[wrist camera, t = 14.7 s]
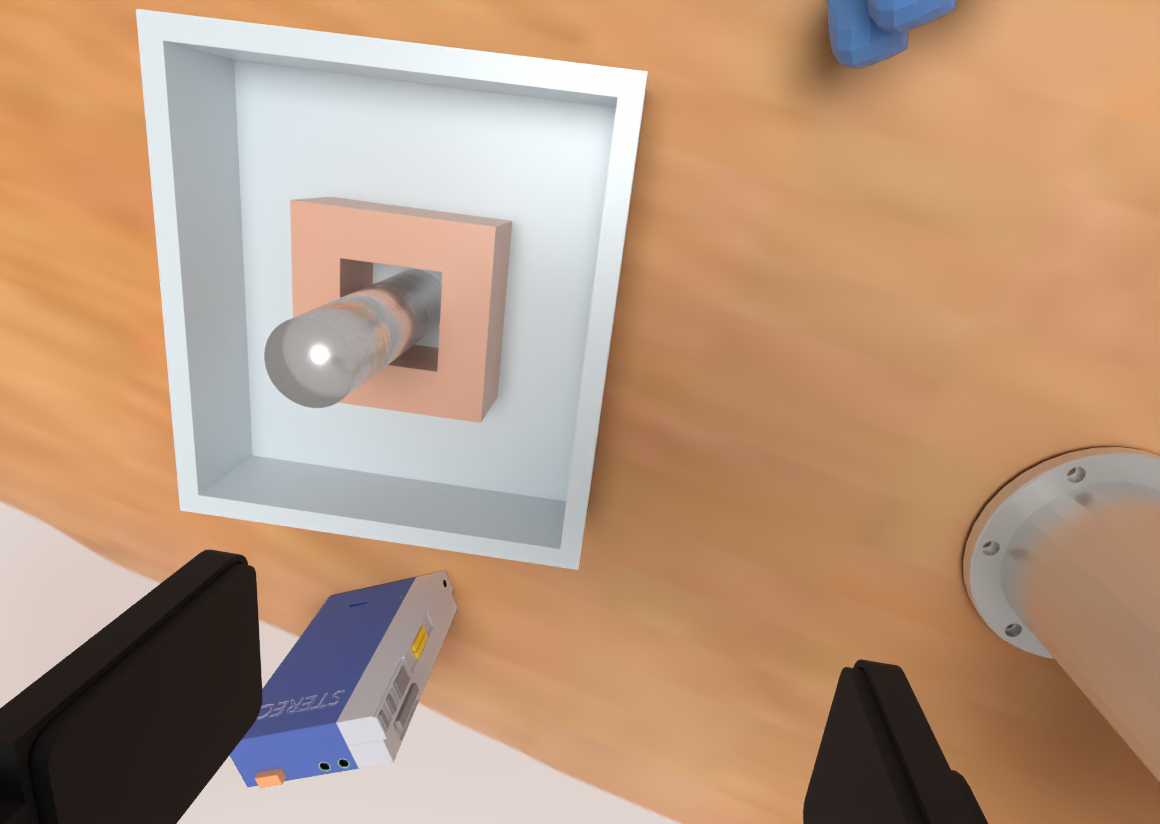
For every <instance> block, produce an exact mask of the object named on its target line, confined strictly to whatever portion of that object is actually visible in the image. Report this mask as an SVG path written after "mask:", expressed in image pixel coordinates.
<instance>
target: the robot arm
mask: <svg viewBox="0 0 1160 824" xmlns="http://www.w3.org/2000/svg"><path fill="white" fill-rule="evenodd" d="M963 574H964V583H965V586H966V590H967V593H968V596H969V599H970V600H971V602H972V604H973V606H974V607H975V609H976V611H977V612H978V614H979V615H980V616H981V618H982V619H983V620H984V621H985V622H986V624H987V625H988V626H989V628H990V629H991V630H992V631H993V632H995V633H996V634H997V635H998V636H999V637H1000V638H1001V639H1003V640H1004V641H1006V642H1007V643H1009V644H1011V645H1013V646H1015V647H1017V648H1018V649H1020V650H1022V651H1025V652H1028V653H1031V654H1034V655H1037V656H1040V657H1044V658H1051V659H1055V660H1056V661H1057V663H1058V664H1059V665H1060V666H1061V667H1062V669H1063V670H1064V671H1065V672H1066V673H1067V674H1068V676H1069V677H1070V678H1071V679H1072V680H1073V681H1074V683H1075V684H1076V685H1077V686H1078V687H1079V688H1080V690H1081V691H1082V692H1083V693H1084V694H1085V696H1086V697H1087V698H1088V699H1089V700H1090V701H1091V703H1092V704H1093V705H1094V706H1095V707H1096V708H1097V710H1098V711H1099V712H1100V713H1101V714H1102V715H1103V717H1104V718H1105V719H1106V720H1107V721H1108V722H1109V724H1110V725H1111V726H1112V727H1113V728H1114V730H1115V731H1116V732H1117V733H1118V734H1119V735H1120V737H1121V738H1122V739H1123V740H1124V741H1125V742H1126V744H1127V745H1128V746H1129V747H1130V748H1131V749H1132V751H1133V752H1134V753H1135V754H1136V755H1137V756H1138V758H1139V759H1140V760H1141V761H1142V762H1143V764H1144V765H1145V766H1146V767H1147V768H1148V769H1149V771H1150V772H1151V773H1152V774H1153V775H1154V776H1155V778H1156V779H1157V780H1158V781H1159V782H1160V456H1159V455H1156V454H1153V453H1150V452H1147V451H1144V450H1138V449H1131V448H1124V447H1101V448H1090V449H1085V450H1080V451H1075V452H1069V453H1067V454H1064V455H1061V456H1058V457H1055V458H1052V459H1050V460H1047V461H1044V462H1042V463H1041V464H1039V465H1037V466H1035V467H1033V468H1031V469H1029V470H1028V471H1026V472H1024V473H1022V474H1021V475H1019V476H1018V477H1017V478H1015V479H1014V480H1013V481H1012V482H1010V483H1009V484H1008V485H1006V486H1005V487H1004V488H1002V489H1001V491H1000V492H999V493H998V494H997V495H996V496H995V497H994V498H993V499H992V500H991V501H990V502H989V503H988V504H987V505H986V507H985V508H984V510H983V511H982V513H981V514H980V516H979V517H978V519H977V520H976V522H975V523H974V526H973V528H972V531H971V533H970V535H969V538H968V540H967V543H966V548H965V553H964V559H963ZM261 706H262V679H261V660H260V640H259V621H258V602H257V583H256V572H255V569H254V567H252V566H249V565H248V562H247V560H246V558H245V557H244V556H242V555H239V554H234V553H228V552H222V551H216V550H205V551H203V552H201V553H200V554H198V555H197V556H196V557H194V558H193V559H192V560H191V561H189V562H188V563H187V564H185V565H184V566H183V567H182V568H180V569H179V570H178V571H176V572H175V573H174V574H173V575H171V576H170V577H169V578H167V579H166V580H165V581H164V582H162V583H161V584H160V585H158V586H157V587H156V588H155V589H153V590H152V591H151V592H149V593H148V594H147V595H146V596H144V597H143V598H142V599H140V600H139V601H138V602H137V603H136V604H134V605H133V606H131V607H130V608H129V609H128V610H126V611H125V612H124V613H122V614H121V615H120V616H119V617H118V618H116V619H115V620H113V621H112V622H111V623H110V624H108V625H107V626H106V627H104V628H103V629H102V630H101V631H99V632H98V633H97V634H95V635H94V636H93V637H92V638H90V639H89V640H88V641H86V642H85V643H84V644H83V645H81V646H80V647H79V648H77V649H76V650H75V651H74V652H72V653H71V654H70V655H68V656H67V657H66V658H65V659H63V660H62V661H61V662H59V663H58V664H57V665H56V666H54V667H53V668H52V669H50V670H49V671H48V672H47V673H45V674H44V675H43V676H42V677H40V678H39V679H38V680H36V681H35V682H34V683H32V684H31V685H30V686H29V687H27V688H26V689H25V690H23V691H22V692H21V693H20V694H18V695H17V696H16V697H14V698H13V699H12V700H11V701H9V702H8V703H7V704H5V705H4V706H3V707H2V708H0V824H176V823H177V822H178V821H179V820H180V818H181V817H182V816H183V814H184V813H185V812H186V810H187V809H188V808H189V807H190V805H191V804H192V803H193V801H194V800H195V799H196V798H197V796H198V795H199V794H200V792H201V791H202V790H203V789H204V787H205V786H206V785H207V783H208V782H209V781H210V780H211V778H212V777H213V776H214V774H215V773H216V772H217V771H218V769H219V768H220V767H221V765H222V764H223V763H224V762H225V760H226V759H227V758H228V756H229V755H230V754H231V753H232V751H233V750H234V749H235V747H236V746H237V745H238V744H239V742H240V741H241V740H242V738H243V737H244V736H245V734H246V733H247V732H248V731H249V729H250V728H251V727H252V725H253V724H254V723H255V721H256V719H257V717H258V715H259V713H260V710H261ZM803 821H804V824H988V822H987V820H986V818H985V816H984V814H983V812H982V810H981V808H980V806H979V804H978V802H977V800H976V798H975V796H974V794H973V792H972V790H971V788H970V786H969V785H968V783H967V782H966V780H965V779H964V777H963V776H962V775H961V774H959V773H958V772H957V771H954V770H951V769H950V767H949V765H948V763H947V761H946V759H945V757H944V755H943V753H942V750H941V748H940V746H939V744H938V742H937V740H936V738H935V736H934V734H933V732H932V730H931V728H930V726H929V723H928V721H927V719H926V717H925V715H924V713H923V711H922V709H921V707H920V705H919V703H918V701H917V699H916V697H915V694H914V692H913V690H912V688H911V686H910V684H909V682H908V680H907V678H906V676H905V674H904V672H903V670H902V669H901V667H899V666H897V665H891V664H885V663H879V662H873V661H867V660H858V661H857V662H856V663H855V665H854V668H849V667H845V668H843V670H842V672H841V674H840V677H839V681H838V685H837V688H836V692H835V695H834V699H833V702H832V706H831V709H830V713H829V716H828V720H827V723H826V727H825V730H824V734H823V737H822V741H821V744H820V748H819V751H818V755H817V759H816V762H815V766H814V769H813V773H812V776H811V780H810V783H809V787H808V790H807V794H806V797H805V802H804V809H803Z"/></svg>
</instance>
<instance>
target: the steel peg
mask: <svg viewBox="0 0 1160 824" xmlns="http://www.w3.org/2000/svg"><path fill="white" fill-rule="evenodd" d="M441 291H442V284H441V282H440V281H439V280H438V279H437V278H436V277H435V276H433V275H432V274H430V273H428V272H426V271H423V270H418V269H411V270H406V271H403V272H401V273H399V274H396V275H394V276H391V277H389V278H387V279H384V280H382V281H379V282H377V283H375V284H372V285H370V286H368V287H365V288H363V289H360V290H358V291H356V292H353V293H351V294H349V295H346V296H344V297H341V298H339V299H337V300H334V301H332V302H330V303H327V304H325V305H322V306H320V307H318V308H315V309H313V310H311V311H308V312H306V313H303V314H301V315H299V316H296V317H294V318H292V319H289V320H287V321H285V322H283V323H281V324H280V325H278V326H277V327H276V328H275V329H274V330H273V331H272V333H271V334H270V336H269V338H268V340H267V342H266V345H265V351H264V360H265V366H266V370H267V373H268V375H269V377H270V379H271V381H272V383H273V384H274V386H275V387H276V388H277V389H278V390H279V391H280V392H281V393H282V394H283V395H284V396H285V397H286V398H288V399H289V400H291V401H293V402H294V403H297V404H299V405H302V406H305V407H310V408H324V407H329V406H332V405H334V404H336V403H338V402H339V401H341V400H342V399H344V398H345V397H346V396H348V395H349V394H350V393H351V392H353V391H354V390H355V389H357V388H358V387H359V386H361V385H362V384H363V383H365V382H366V381H367V380H368V379H370V378H371V377H372V376H374V375H375V374H376V373H378V372H379V371H380V370H381V369H383V368H384V367H385V366H387V365H388V364H389V363H391V362H392V361H393V360H395V359H396V358H397V357H398V356H400V355H401V354H402V353H404V352H405V351H406V350H408V349H409V348H410V347H412V346H413V345H414V344H415V343H417V342H418V341H419V340H421V339H422V338H423V337H425V336H426V335H427V334H429V333H430V332H431V331H432V330H434V329H435V328H436V327H438V326H439V325H440V310H441Z"/></svg>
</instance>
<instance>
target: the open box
mask: <svg viewBox="0 0 1160 824" xmlns="http://www.w3.org/2000/svg"><path fill="white" fill-rule="evenodd" d="M136 17H137V28H138V39H139V51H140V62H141V73H142V84H143V96H144V107H145V118H146V130H147V141H148V152H149V163H150V175H151V186H152V197H153V209H154V220H155V231H156V242H157V254H158V265H159V276H160V288H161V299H162V310H163V322H164V333H165V344H166V355H167V367H168V378H169V389H170V401H171V412H172V423H173V434H174V446H175V457H176V468H177V480H178V491H179V502H180V510H182V511H189V512H195V513H202V514H209V515H215V516H222V517H229V518H235V519H242V520H249V521H255V522H262V523H268V524H275V525H282V526H288V527H295V528H302V529H308V530H315V531H322V532H328V533H335V534H342V535H348V536H355V537H362V538H368V539H375V540H382V541H388V542H395V543H402V544H408V545H415V546H422V547H428V548H435V549H442V550H448V551H455V552H462V553H468V554H475V555H482V556H488V557H495V558H502V559H508V560H515V561H522V562H528V563H535V564H542V565H548V566H555V567H562V568H568V569H575V570H578V569H579V562H580V556H581V549H582V543H583V536H584V530H585V523H586V517H587V510H588V503H589V495H590V488H591V481H592V474H593V467H594V460H595V452H596V445H597V438H598V431H599V424H600V417H601V409H602V402H603V395H604V388H605V381H606V373H607V366H608V359H609V352H610V345H611V338H612V330H613V323H614V316H615V309H616V302H617V295H618V287H619V280H620V273H621V266H622V259H623V251H624V244H625V237H626V230H627V223H628V216H629V208H630V201H631V194H632V187H633V180H634V173H635V165H636V158H637V151H638V144H639V137H640V129H641V122H642V115H643V108H644V101H645V94H646V84H647V72H648V71H640V70H632V69H623V68H615V67H607V66H599V65H591V64H583V63H574V62H566V61H558V60H550V59H542V58H534V57H526V56H517V55H509V54H501V53H493V52H485V51H477V50H468V49H460V48H452V47H444V46H436V45H428V44H420V43H411V42H403V41H395V40H387V39H379V38H371V37H362V36H354V35H346V34H338V33H330V32H322V31H314V30H305V29H297V28H289V27H281V26H273V25H265V24H256V23H248V22H240V21H232V20H224V19H216V18H207V17H199V16H191V15H183V14H175V13H167V12H159V11H150V10H142V9H136ZM411 269H418V270H423V271H426V272H428V273H430V274H432V275H433V276H435V277H436V278H437V279H438V280H439V281H440V282H441V284H442V291H441V310H440V325H439V326H438V327H436V328H435V329H434V330H432V331H431V332H430V333H429V334H427V335H426V336H425V337H423V338H422V339H421V340H419V341H418V342H417V343H415V344H414V345H413V346H412V347H410V348H409V349H408V350H406V351H405V352H404V353H402V354H401V355H400V356H398V357H397V358H396V359H395V360H393V361H392V362H391V363H389V364H388V365H387V366H385V367H384V368H383V369H381V370H380V371H379V372H378V373H376V374H375V375H374V376H372V377H371V378H370V379H368V380H367V381H366V382H365V383H363V384H362V385H361V386H359V387H358V388H357V389H355V390H354V391H353V392H351V393H350V394H349V395H348V396H346V397H345V398H344V399H342V400H341V401H339V402H338V403H336V404H334V405H332V406H329V407H324V408H310V407H305V406H302V405H299V404H297V403H294V402H293V401H291V400H289V399H288V398H286V397H285V396H284V395H283V394H282V393H281V392H280V391H279V390H278V389H277V388H276V387H275V386H274V384H273V383H272V381H271V379H270V377H269V375H268V373H267V370H266V366H265V360H264V351H265V345H266V342H267V340H268V338H269V336H270V334H271V333H272V331H273V330H274V329H275V328H276V327H277V326H278V325H280V324H281V323H283V322H285V321H287V320H289V319H292V318H294V317H296V316H299V315H301V314H303V313H306V312H308V311H311V310H313V309H315V308H318V307H320V306H322V305H325V304H327V303H330V302H332V301H334V300H337V299H339V298H341V297H344V296H346V295H349V294H351V293H353V292H356V291H358V290H360V289H363V288H365V287H368V286H370V285H372V284H375V283H377V282H379V281H382V280H384V279H387V278H389V277H391V276H394V275H396V274H399V273H401V272H403V271H406V270H411Z"/></svg>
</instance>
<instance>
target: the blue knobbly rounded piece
mask: <svg viewBox="0 0 1160 824" xmlns="http://www.w3.org/2000/svg"><path fill="white" fill-rule="evenodd" d="M955 7H956V0H827V8H828V27H829V35H830V43H831V50H832V53H833V54H834V56H835V58H836V59H837V61H838V62H839V63H840V64H842V65H843V66H845V67H850V68H857V69H860V68H863V67H866V66H869V65H872V64H875V63H878V62H880V61H883V60H885V59H888V58H890V57H892V56H894V55H896V54H898V53H900V52H902V51H904V50H906V49H907V46H908V30H909V29H912V28H915V27H917V26H920V25H923V24H926V23H928V22H931V21H934V20H936V19H938V18H940V17H942V16H944V15H946V14H948V13H950V12H951V11H953V10H955Z"/></svg>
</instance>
